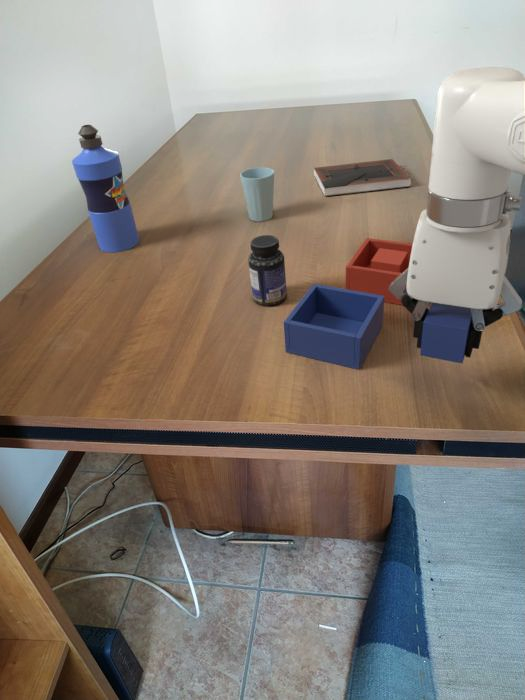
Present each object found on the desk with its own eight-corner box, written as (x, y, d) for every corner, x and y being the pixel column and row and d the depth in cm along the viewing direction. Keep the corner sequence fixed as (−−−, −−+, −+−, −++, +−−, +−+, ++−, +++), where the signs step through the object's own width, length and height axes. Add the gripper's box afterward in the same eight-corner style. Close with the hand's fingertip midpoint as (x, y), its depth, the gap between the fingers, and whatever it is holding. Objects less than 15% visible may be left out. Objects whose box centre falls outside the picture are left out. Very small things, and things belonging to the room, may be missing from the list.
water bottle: (147, 235, 115) (119, 119, 99) (125, 254, 108) (92, 132, 93) (113, 233, 118) (81, 119, 102) (90, 250, 111) (51, 132, 96)
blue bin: (382, 326, 79) (384, 295, 75) (359, 369, 71) (360, 338, 68) (314, 312, 84) (313, 283, 80) (285, 352, 76) (283, 321, 72)
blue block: (469, 340, 63) (475, 307, 60) (462, 363, 60) (468, 329, 57) (428, 333, 65) (432, 301, 62) (419, 355, 62) (423, 322, 59)
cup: (283, 218, 116) (280, 173, 109) (252, 226, 114) (247, 181, 107) (269, 208, 121) (265, 165, 115) (240, 215, 119) (235, 172, 113)
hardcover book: (324, 197, 124) (410, 187, 124) (324, 187, 123) (411, 177, 123) (314, 176, 137) (391, 167, 137) (313, 166, 136) (392, 158, 136)
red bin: (427, 274, 90) (431, 245, 87) (412, 307, 82) (415, 277, 79) (365, 264, 95) (366, 237, 92) (345, 295, 87) (345, 266, 84)
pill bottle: (290, 290, 90) (287, 233, 83) (282, 308, 85) (278, 250, 79) (257, 288, 92) (252, 232, 85) (248, 305, 87) (241, 248, 80)
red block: (405, 277, 89) (407, 251, 86) (397, 290, 86) (400, 265, 83) (377, 272, 91) (379, 248, 88) (369, 286, 88) (371, 260, 85)
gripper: (559, 197, 51) (522, 342, 61) (392, 188, 58) (386, 319, 68) (556, 226, 45) (517, 379, 56) (373, 212, 53) (369, 350, 63)
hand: (445, 345), depth 62 cm, fingers closed on blue block, 5 cm apart
